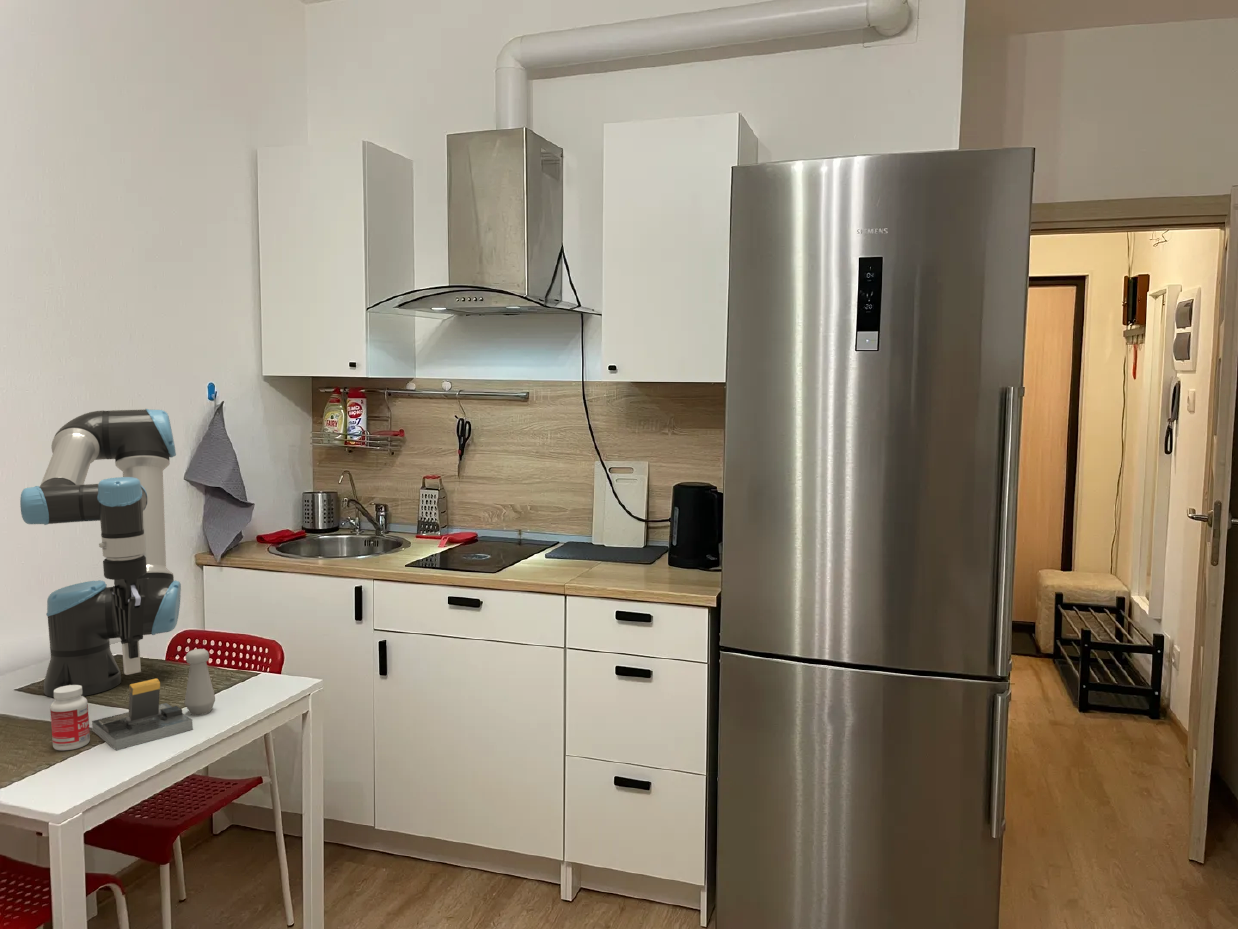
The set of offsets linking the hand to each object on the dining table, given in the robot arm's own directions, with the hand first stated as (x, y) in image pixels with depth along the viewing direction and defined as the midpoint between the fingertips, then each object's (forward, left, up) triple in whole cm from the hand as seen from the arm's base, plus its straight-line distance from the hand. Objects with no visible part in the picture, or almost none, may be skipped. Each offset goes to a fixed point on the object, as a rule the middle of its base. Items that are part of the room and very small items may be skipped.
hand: (132, 672), depth 189 cm
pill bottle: (+3, -12, -11) cm, 17 cm away
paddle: (+6, 0, -8) cm, 9 cm away
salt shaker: (+3, +12, -11) cm, 16 cm away
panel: (+5, 0, -11) cm, 12 cm away
